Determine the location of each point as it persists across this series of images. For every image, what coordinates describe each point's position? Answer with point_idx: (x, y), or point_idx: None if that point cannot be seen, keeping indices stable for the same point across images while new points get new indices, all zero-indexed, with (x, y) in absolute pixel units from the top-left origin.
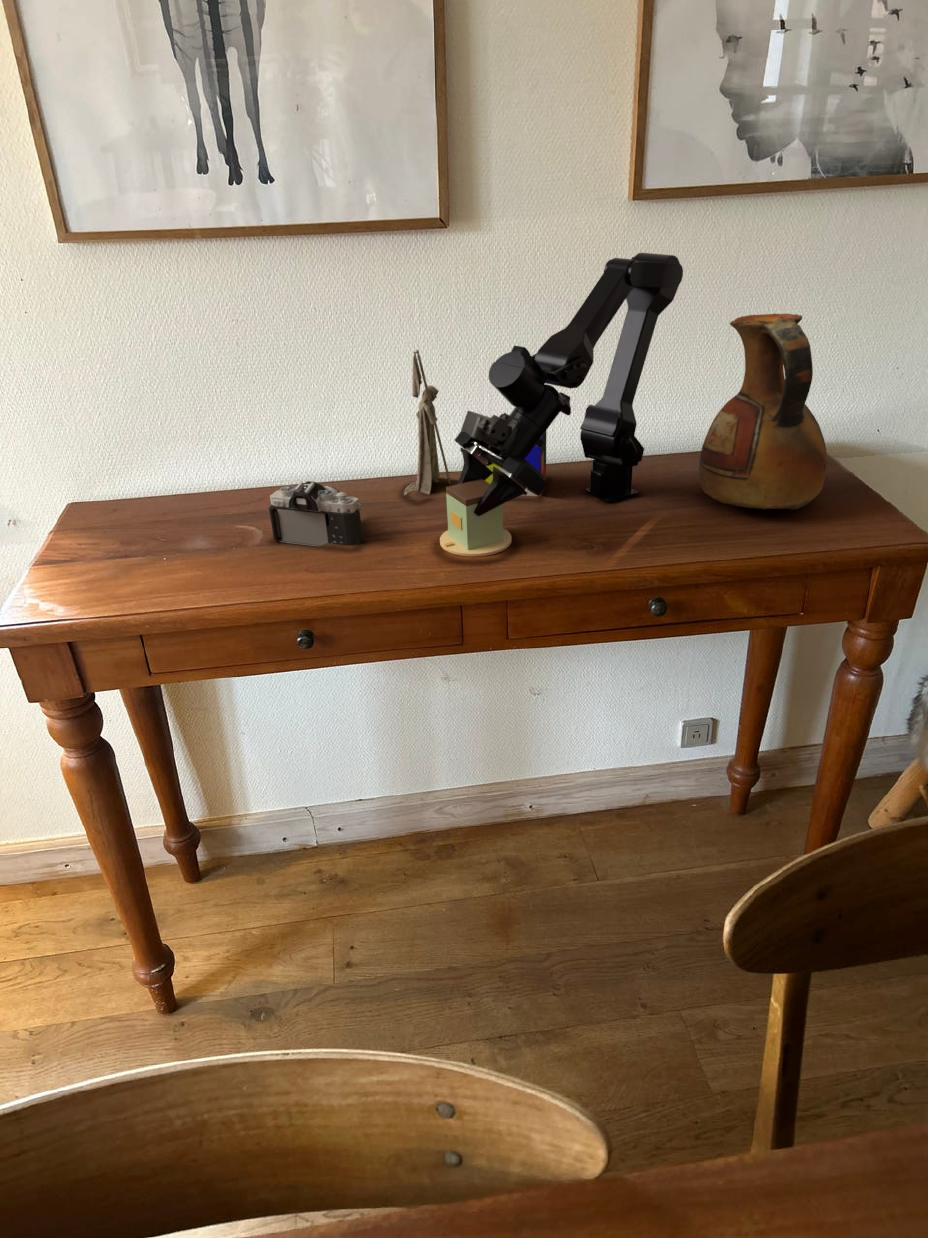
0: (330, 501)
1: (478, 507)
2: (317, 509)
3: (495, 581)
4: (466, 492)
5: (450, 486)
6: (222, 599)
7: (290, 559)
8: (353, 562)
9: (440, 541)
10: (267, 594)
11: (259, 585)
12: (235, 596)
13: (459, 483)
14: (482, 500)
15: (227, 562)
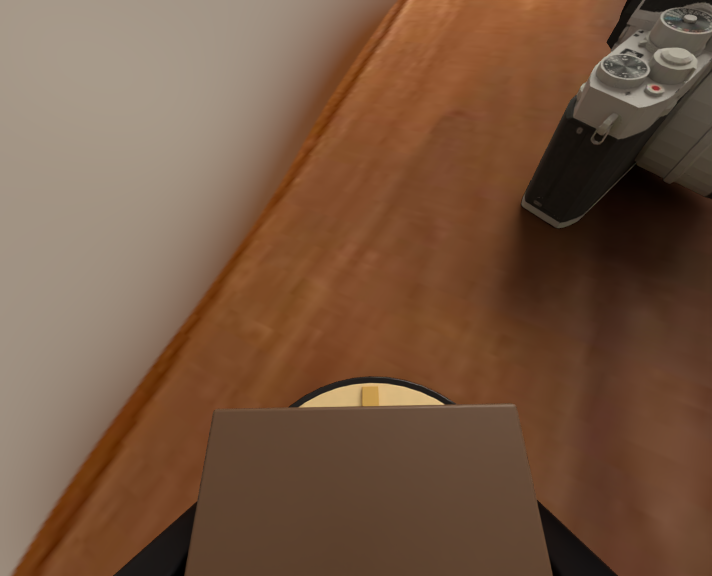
0: (637, 48)
1: (196, 502)
2: (611, 41)
3: (118, 442)
4: (328, 490)
5: (514, 441)
6: (413, 20)
7: (524, 101)
8: (450, 184)
9: (414, 391)
10: (394, 58)
11: (434, 55)
12: (413, 30)
13: (584, 568)
14: (160, 545)
15: (554, 33)
